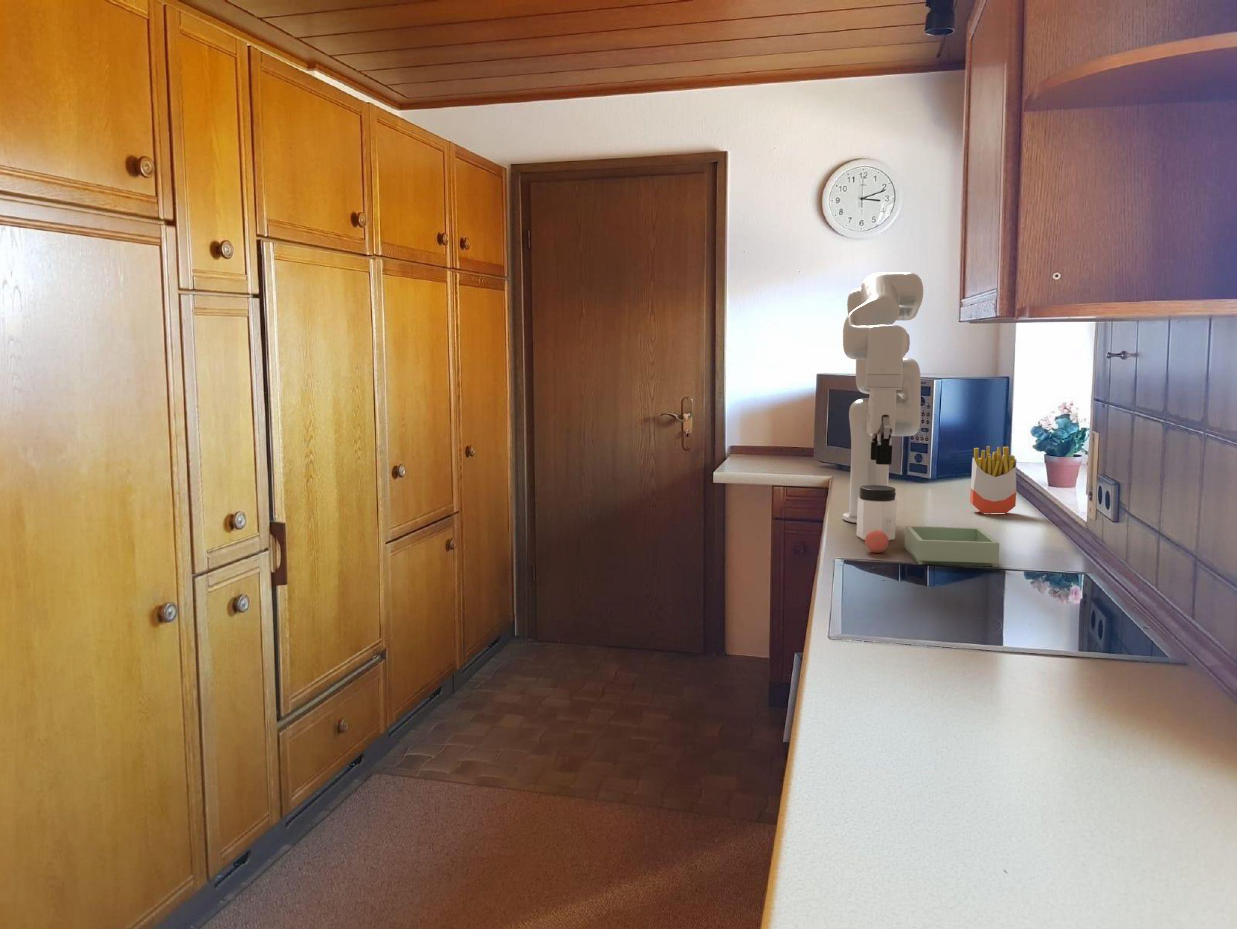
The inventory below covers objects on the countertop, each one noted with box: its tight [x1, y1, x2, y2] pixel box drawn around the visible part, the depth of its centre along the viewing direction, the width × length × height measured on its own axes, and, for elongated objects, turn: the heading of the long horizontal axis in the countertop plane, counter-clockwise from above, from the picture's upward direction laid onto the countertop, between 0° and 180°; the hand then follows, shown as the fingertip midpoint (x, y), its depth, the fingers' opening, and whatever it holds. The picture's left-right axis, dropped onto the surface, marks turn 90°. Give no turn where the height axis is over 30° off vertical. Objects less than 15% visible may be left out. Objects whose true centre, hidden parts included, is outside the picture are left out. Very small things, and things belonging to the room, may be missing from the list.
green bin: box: [904, 525, 1000, 568], centre depth 200 cm, size 16×16×5 cm
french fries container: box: [969, 445, 1017, 514], centre depth 251 cm, size 5×11×18 cm, turn 79°
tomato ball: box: [864, 530, 890, 554], centre depth 204 cm, size 5×5×5 cm
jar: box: [855, 485, 898, 541], centre depth 219 cm, size 9×8×12 cm
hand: (880, 462), depth 202 cm, fingers open, 9 cm apart
